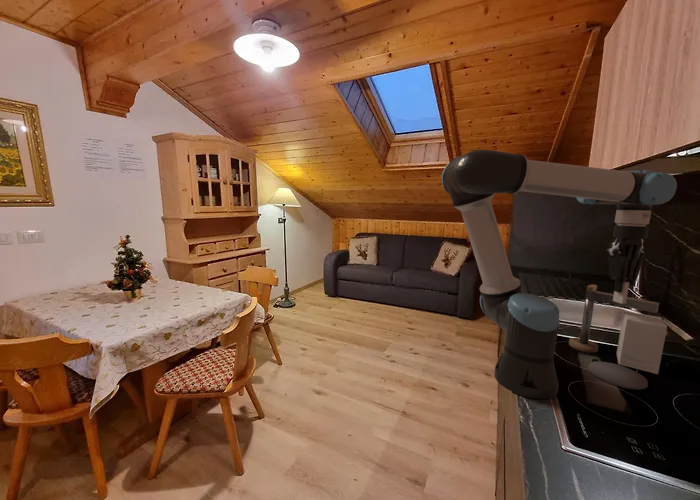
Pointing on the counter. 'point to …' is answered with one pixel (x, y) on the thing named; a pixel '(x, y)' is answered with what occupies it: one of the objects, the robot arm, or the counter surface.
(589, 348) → the disc
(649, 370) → the supplement box
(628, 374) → the coaster
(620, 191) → the robot arm
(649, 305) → the swing latch
